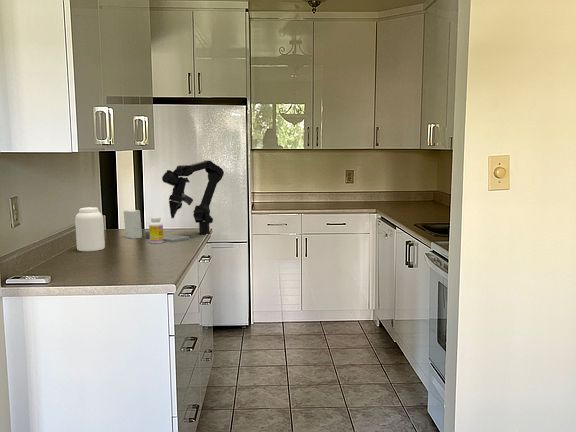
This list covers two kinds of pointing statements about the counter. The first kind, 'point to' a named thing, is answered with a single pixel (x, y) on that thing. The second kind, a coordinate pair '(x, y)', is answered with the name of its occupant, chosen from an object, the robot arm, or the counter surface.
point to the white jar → (89, 230)
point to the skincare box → (132, 224)
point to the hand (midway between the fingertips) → (172, 217)
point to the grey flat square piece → (175, 238)
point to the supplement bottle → (156, 230)
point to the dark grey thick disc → (147, 235)
